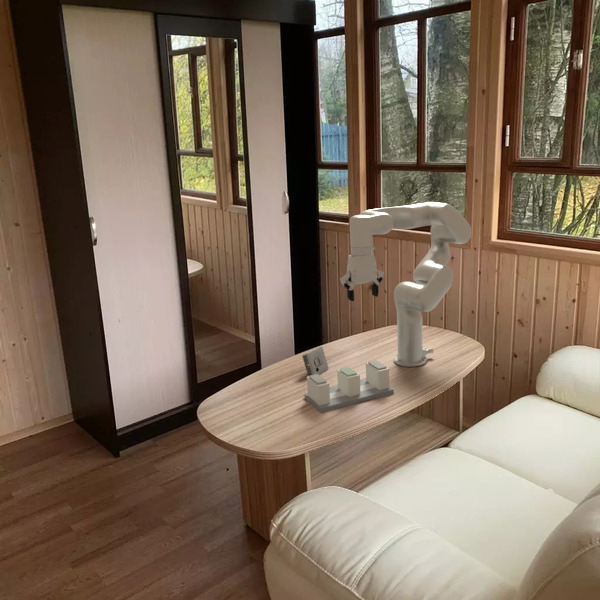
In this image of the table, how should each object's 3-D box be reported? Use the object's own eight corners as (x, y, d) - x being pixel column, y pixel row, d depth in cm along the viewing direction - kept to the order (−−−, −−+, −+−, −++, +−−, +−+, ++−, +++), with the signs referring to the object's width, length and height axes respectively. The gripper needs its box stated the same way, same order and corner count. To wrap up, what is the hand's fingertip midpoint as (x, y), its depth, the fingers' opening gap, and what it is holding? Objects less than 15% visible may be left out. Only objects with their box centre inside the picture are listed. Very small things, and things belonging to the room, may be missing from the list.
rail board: (374, 380, 220) (374, 376, 219) (393, 393, 208) (393, 389, 208) (304, 397, 209) (304, 393, 209) (320, 412, 198) (320, 408, 197)
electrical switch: (314, 377, 226) (311, 354, 224) (303, 376, 229) (300, 352, 227) (329, 369, 233) (326, 346, 231) (318, 367, 236) (315, 345, 234)
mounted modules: (376, 378, 217) (375, 358, 215) (389, 387, 210) (389, 367, 207) (308, 395, 207) (306, 375, 205) (319, 405, 199) (318, 384, 197)
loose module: (349, 385, 213) (348, 366, 211) (360, 394, 206) (359, 373, 204) (338, 388, 211) (337, 368, 209) (348, 397, 204) (347, 376, 202)
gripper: (377, 245, 217) (378, 291, 222) (334, 252, 210) (336, 299, 215) (388, 249, 210) (389, 296, 215) (344, 256, 204) (346, 304, 209)
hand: (363, 298), depth 215 cm, fingers open, 9 cm apart
